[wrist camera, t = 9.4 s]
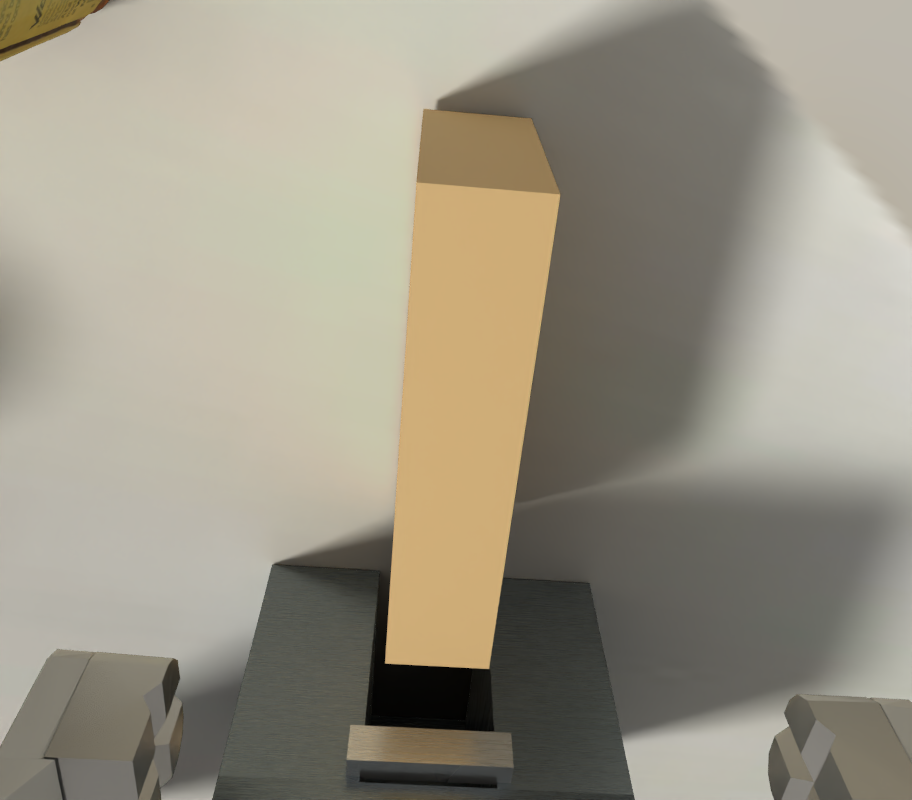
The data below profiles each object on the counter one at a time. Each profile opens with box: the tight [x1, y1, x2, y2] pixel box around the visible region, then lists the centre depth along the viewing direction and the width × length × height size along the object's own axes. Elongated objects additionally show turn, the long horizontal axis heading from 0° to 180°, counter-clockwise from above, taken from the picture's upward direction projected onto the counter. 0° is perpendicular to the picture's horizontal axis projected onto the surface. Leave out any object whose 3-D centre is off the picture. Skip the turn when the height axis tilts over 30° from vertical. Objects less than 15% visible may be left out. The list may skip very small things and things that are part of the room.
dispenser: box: [212, 565, 635, 800], centre depth 30 cm, size 12×11×11 cm
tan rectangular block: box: [385, 109, 560, 669], centre depth 25 cm, size 3×14×7 cm, turn 175°
